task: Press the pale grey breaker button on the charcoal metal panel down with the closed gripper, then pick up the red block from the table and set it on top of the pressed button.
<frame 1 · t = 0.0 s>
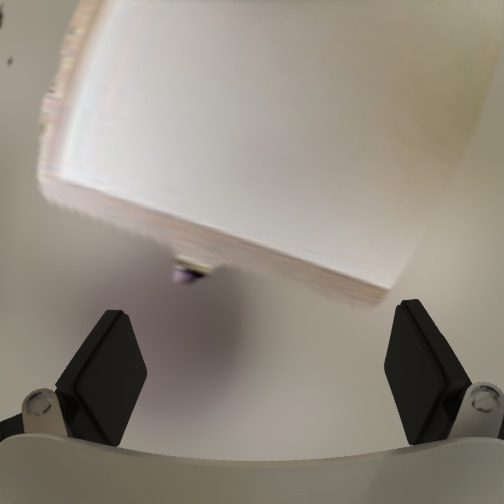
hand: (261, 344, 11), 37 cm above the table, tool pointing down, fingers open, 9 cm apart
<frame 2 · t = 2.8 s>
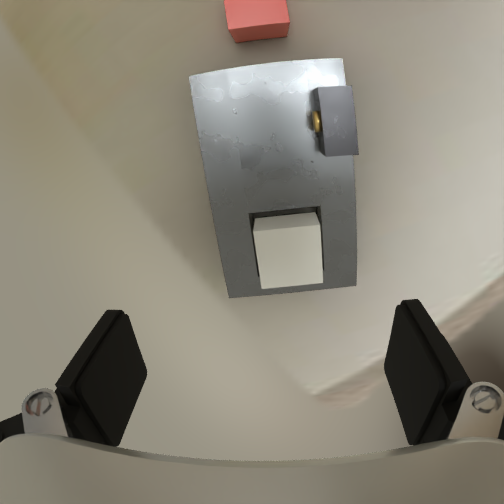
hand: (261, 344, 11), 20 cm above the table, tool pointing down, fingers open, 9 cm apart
breaker button: (288, 250, 26), point 4 cm above the table, slide at 0.0 cm
red block: (257, 17, 22), on the table
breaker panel: (280, 178, 28), on the table
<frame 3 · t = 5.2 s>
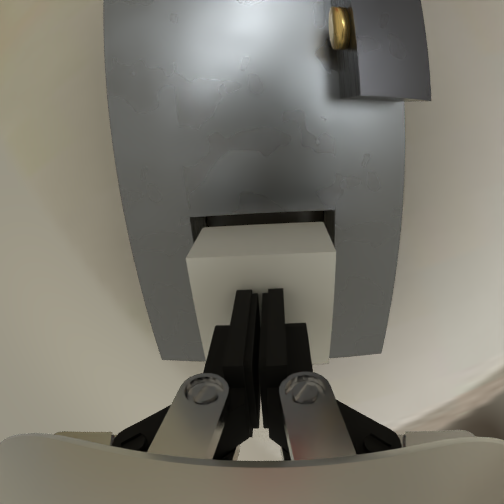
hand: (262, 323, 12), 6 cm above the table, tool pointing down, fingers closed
breaker button: (265, 295, 13), point 4 cm above the table, slide at 0.0 cm, touching gripper
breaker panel: (260, 154, 15), on the table
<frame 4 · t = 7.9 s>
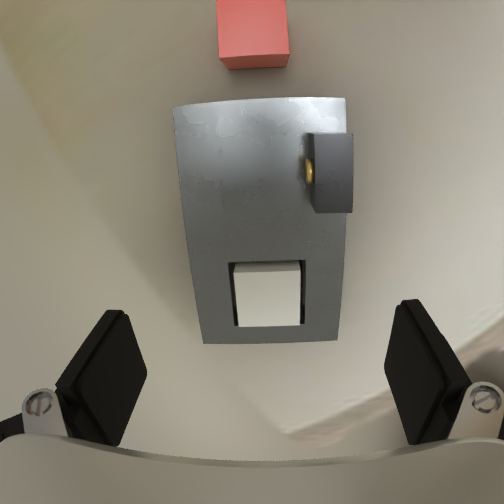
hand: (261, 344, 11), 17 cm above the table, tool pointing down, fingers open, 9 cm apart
breaker button: (268, 290, 27), point 2 cm above the table, slide at 2.2 cm
red block: (255, 42, 21), on the table
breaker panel: (266, 223, 27), on the table
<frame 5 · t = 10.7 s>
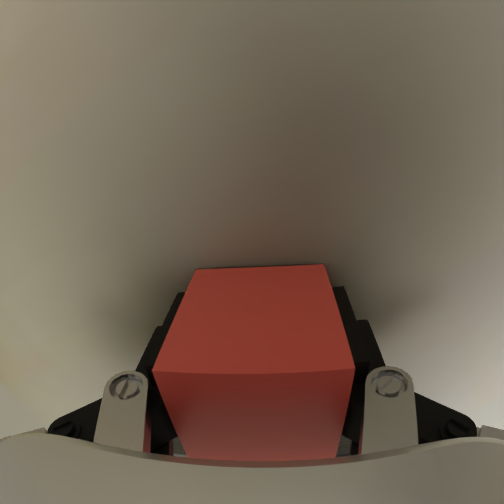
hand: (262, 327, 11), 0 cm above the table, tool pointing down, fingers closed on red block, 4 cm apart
red block: (262, 320, 12), on the table, touching gripper
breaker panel: (273, 487, 18), on the table
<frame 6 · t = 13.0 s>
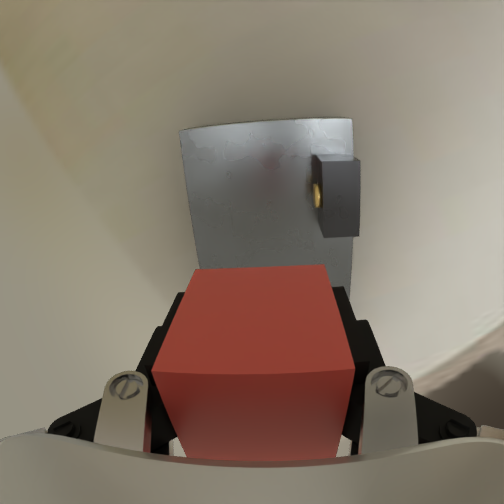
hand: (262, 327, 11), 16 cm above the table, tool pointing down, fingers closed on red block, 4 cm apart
red block: (262, 320, 12), point 16 cm above the table, touching gripper
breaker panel: (274, 240, 27), on the table
when the fingers open (6 cm above the table, at t = 15.7 s): red block drops 2 cm, resting on breaker button.
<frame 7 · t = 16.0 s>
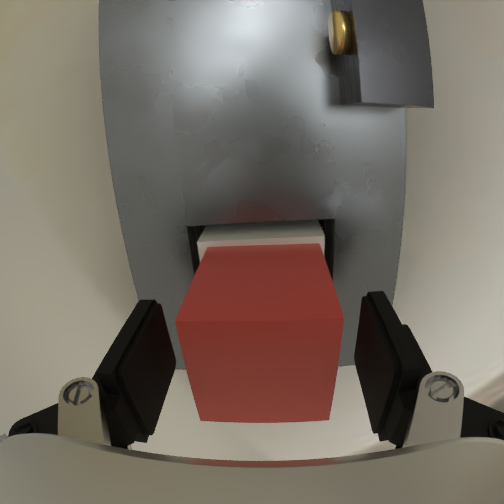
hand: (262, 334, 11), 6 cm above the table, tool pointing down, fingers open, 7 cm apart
breaker button: (264, 277, 15), point 2 cm above the table, slide at 2.5 cm, touching red block
red block: (265, 293, 14), point 4 cm above the table, touching breaker button
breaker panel: (259, 161, 15), on the table
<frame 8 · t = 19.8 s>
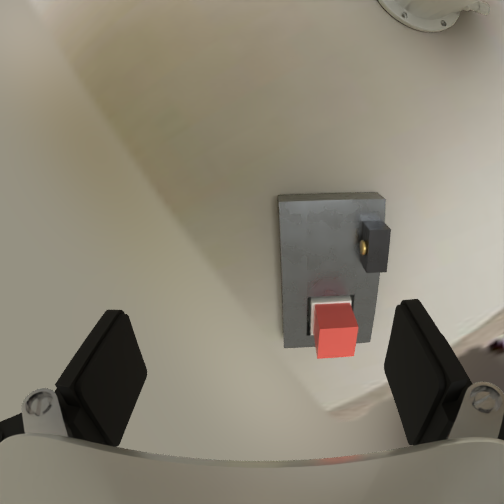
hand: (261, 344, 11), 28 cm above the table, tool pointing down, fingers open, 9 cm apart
breaker button: (329, 311, 41), point 2 cm above the table, slide at 2.5 cm
red block: (331, 318, 39), point 4 cm above the table
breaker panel: (328, 270, 41), on the table
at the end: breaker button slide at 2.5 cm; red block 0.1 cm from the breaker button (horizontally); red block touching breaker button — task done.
